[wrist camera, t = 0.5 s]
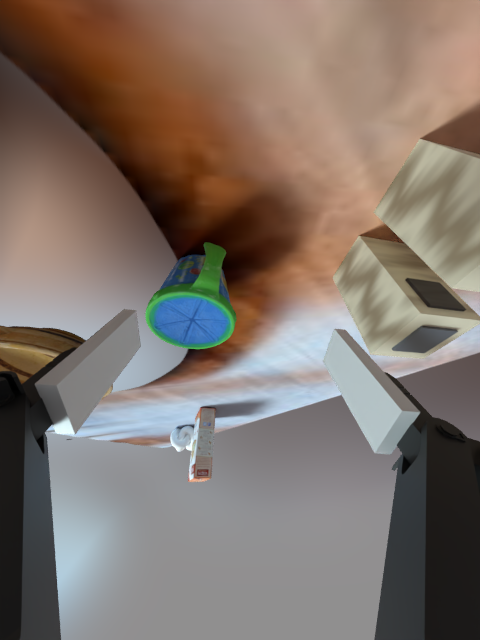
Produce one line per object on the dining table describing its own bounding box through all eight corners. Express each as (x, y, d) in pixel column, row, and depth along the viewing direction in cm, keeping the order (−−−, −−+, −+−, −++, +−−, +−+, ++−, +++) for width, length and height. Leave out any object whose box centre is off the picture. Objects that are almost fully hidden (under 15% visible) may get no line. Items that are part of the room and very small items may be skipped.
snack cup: (184, 208, 25) (166, 256, 18) (257, 249, 29) (265, 300, 22) (151, 294, 35) (132, 345, 28) (209, 315, 39) (205, 364, 32)
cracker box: (199, 406, 76) (192, 479, 62) (216, 407, 77) (212, 478, 64) (194, 417, 86) (187, 482, 72) (208, 418, 87) (204, 482, 74)
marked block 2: (360, 233, 28) (425, 313, 18) (408, 241, 29) (492, 321, 20) (332, 277, 33) (371, 356, 24) (373, 283, 34) (427, 361, 25)
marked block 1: (422, 134, 20) (584, 185, 11) (484, 150, 21) (679, 209, 12) (373, 212, 26) (453, 290, 16) (424, 222, 27) (527, 300, 17)
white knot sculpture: (168, 429, 98) (164, 451, 92) (177, 422, 91) (173, 446, 85) (191, 431, 103) (188, 453, 97) (201, 425, 95) (199, 448, 90)
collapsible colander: (-73, 303, 35) (-125, 343, 30) (55, 281, 32) (21, 321, 27) (67, 379, 57) (51, 409, 52) (150, 370, 55) (142, 401, 49)
